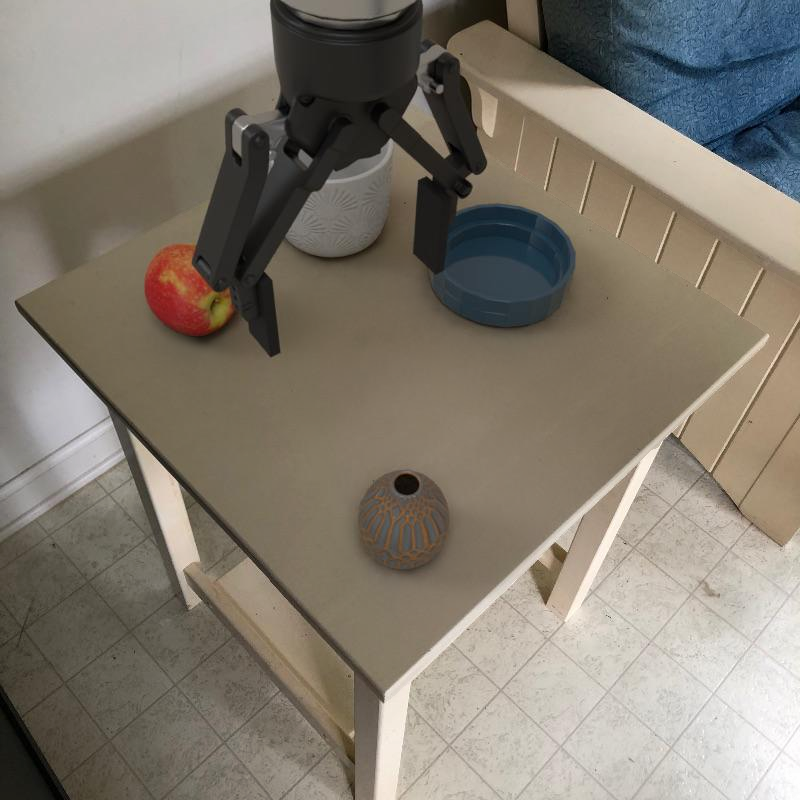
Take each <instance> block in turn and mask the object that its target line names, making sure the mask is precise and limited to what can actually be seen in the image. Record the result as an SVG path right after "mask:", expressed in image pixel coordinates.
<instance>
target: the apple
mask: <svg viewBox="0 0 800 800" xmlns="http://www.w3.org/2000/svg"><path fill="white" fill-rule="evenodd" d="M196 245H197V243H190V242H182V243H174V244H171V245H168V246H165V247H163V248H161V249H160V250H159V251H158V252H157V253H156V254H155V255H154V256H153V257H152V259H151V260H150V261H149V263H148V265H147V268H146V272H145V275H144V283H143V284H144V286H143V287H144V288H143V289H144V296H145V300H146V302H147V305H148V307H149V309H150V311H151V312H152V313H153V315H154V316H155V317H156V318H157V319H158V320H159V321H160V322H161V323H162V324H163V325H165V326H166V327H167V328H169V329H170V330H172V331H174V332H176V333H179V334H181V335H185V336H191V337H204V336H208V335H210V334H212V333H214V332H215V331H217V330H219V329H220V328H222V327H223V326H224V325H225V324H226V323H227V322H228V321H229V320H230V319H231V318H232V316H233V315H234V313H235V311H236V308H235V307H234V306H233V305H232V301H231V296H230V290H229V287H228V288H227V289H226V290H225V291H223V292H215V291H213V289H212V288H211V287H210V286H209V285H208V283H207V282H206V281H205V280H204V279H203V277H202V276H201V275H200V274H199V273H198V271H197V270H196V269H195V268H194V267H193V265H192V258H193V255H194V251H195V248H196Z"/></svg>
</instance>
